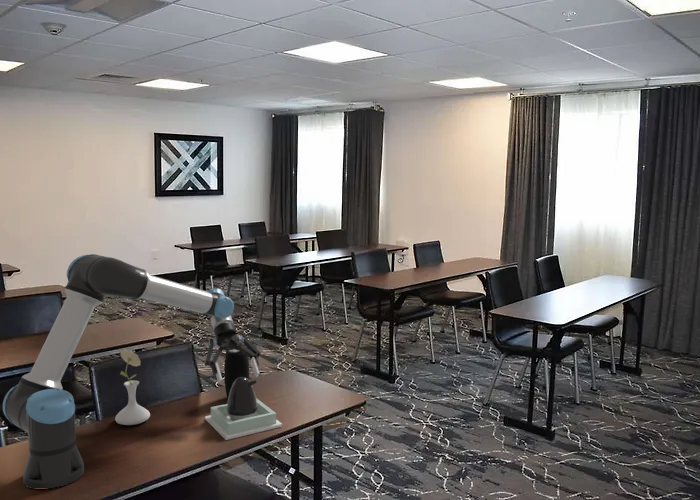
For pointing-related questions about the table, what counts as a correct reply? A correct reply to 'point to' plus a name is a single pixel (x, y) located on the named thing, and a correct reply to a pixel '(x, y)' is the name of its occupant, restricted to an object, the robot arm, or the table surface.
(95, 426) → the table surface
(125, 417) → the flower in vase
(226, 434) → the holder
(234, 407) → the black rounded tall piece
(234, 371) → the portable speaker
